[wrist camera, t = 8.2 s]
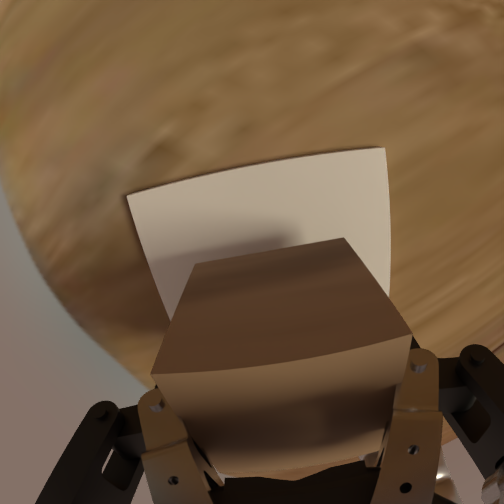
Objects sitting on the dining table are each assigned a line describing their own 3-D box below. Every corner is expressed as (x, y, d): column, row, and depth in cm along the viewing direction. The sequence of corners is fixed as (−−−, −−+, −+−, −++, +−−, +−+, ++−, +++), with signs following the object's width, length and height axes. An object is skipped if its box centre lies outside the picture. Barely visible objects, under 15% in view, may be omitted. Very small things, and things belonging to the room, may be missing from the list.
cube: (195, 263, 11) (150, 374, 6) (344, 237, 11) (412, 333, 5) (229, 368, 14) (220, 473, 8) (347, 349, 13) (381, 450, 8)
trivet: (131, 193, 13) (126, 196, 12) (379, 146, 12) (384, 147, 11) (198, 373, 18) (197, 380, 17) (380, 343, 16) (383, 350, 16)
